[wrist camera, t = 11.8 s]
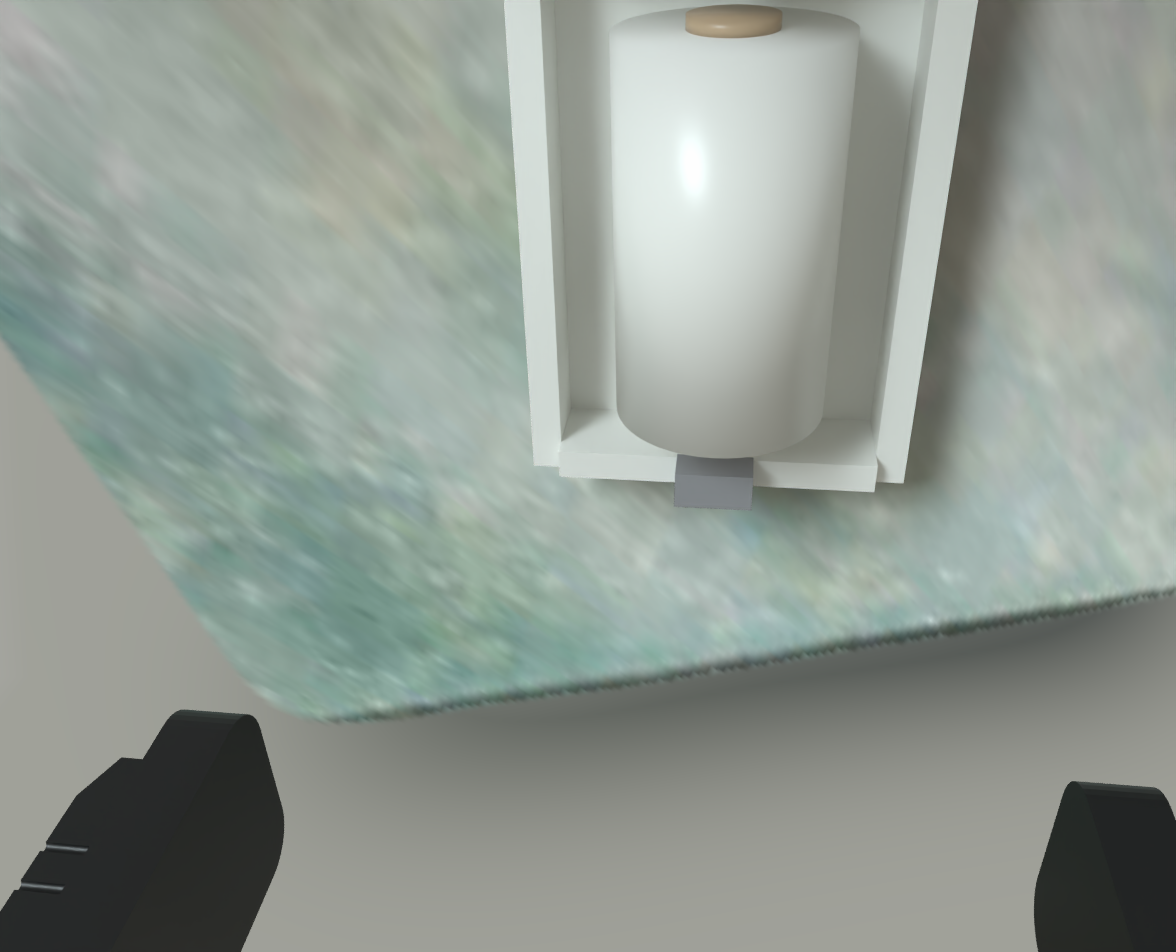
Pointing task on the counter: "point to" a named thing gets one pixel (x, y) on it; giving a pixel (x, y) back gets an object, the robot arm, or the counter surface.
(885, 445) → the holder
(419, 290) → the counter surface
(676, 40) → the paper roll
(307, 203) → the counter surface
